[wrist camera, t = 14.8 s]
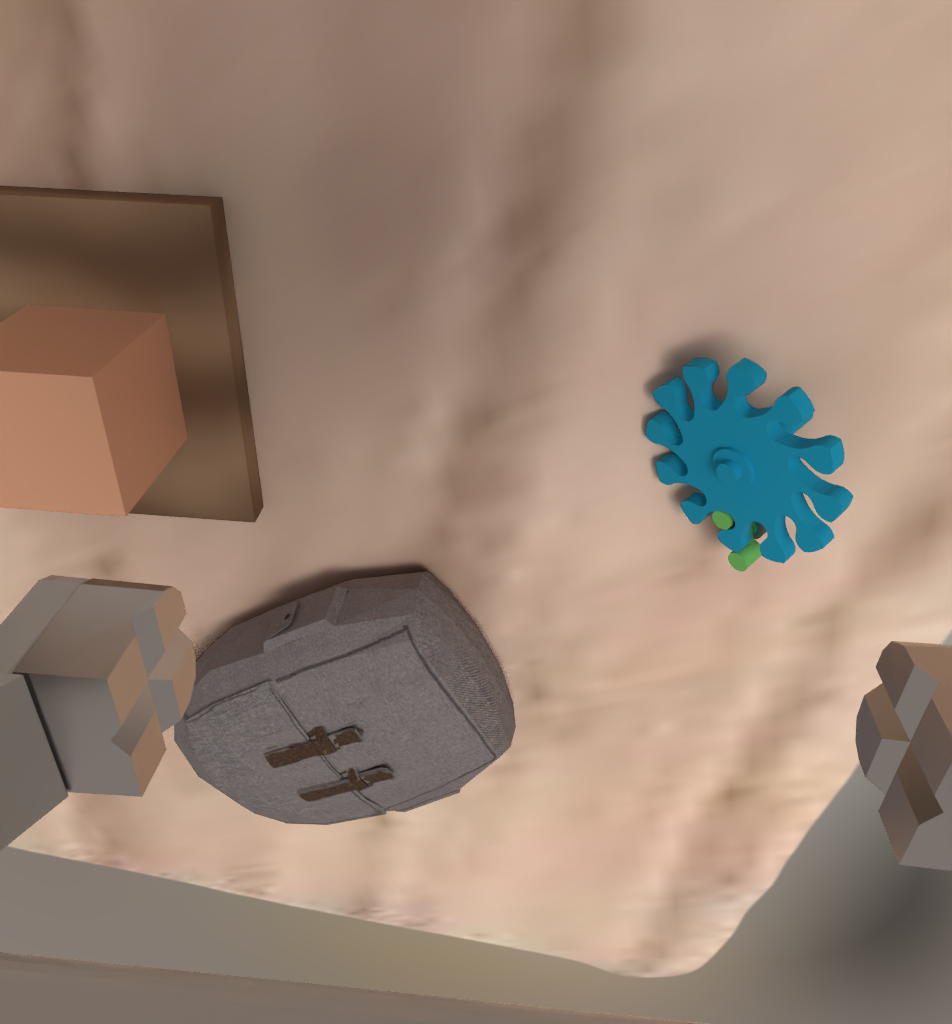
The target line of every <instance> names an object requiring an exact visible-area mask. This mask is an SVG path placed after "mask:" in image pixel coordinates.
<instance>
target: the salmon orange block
mask: <svg viewBox="0 0 952 1024" xmlns="http://www.w3.org/2000/svg"><path fill="white" fill-rule="evenodd" d="M187 439H188V437H187V432H186V426H185V421H184V415H183V410H182V404H181V399H180V393H179V388H178V382H177V377H176V371H175V366H174V360H173V355H172V349H171V344H170V338H169V333H168V327H167V322H166V316H165V313H149V312H133V311H117V310H100V309H84V308H68V307H52V306H35V305H27V306H26V307H24V308H22V309H21V310H19V311H18V312H16V313H15V314H13V315H11V316H10V317H8V318H7V319H5V320H4V321H2V322H0V507H4V508H17V509H31V510H44V511H58V512H71V513H84V514H98V515H111V516H124V517H126V516H127V515H128V513H129V512H130V511H131V510H132V508H133V507H134V506H135V505H136V503H137V502H138V501H139V499H140V498H141V497H142V496H143V494H144V493H145V492H146V491H147V489H148V488H149V487H150V486H151V484H152V483H153V482H154V480H155V479H156V478H157V477H158V475H159V474H160V473H161V472H162V470H163V469H164V468H165V467H166V465H167V464H168V463H169V462H170V460H171V459H172V458H173V456H174V455H175V454H176V453H177V451H178V450H179V449H180V448H181V446H182V445H183V444H184V443H185V441H186V440H187Z"/></svg>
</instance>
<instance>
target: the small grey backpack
mask: <svg viewBox="0 0 952 1024" xmlns="http://www.w3.org/2000/svg"><path fill="white" fill-rule="evenodd" d="M515 727H516V726H515V716H514V707H513V701H512V698H511V695H510V692H509V689H508V686H507V683H506V680H505V677H504V674H503V672H502V670H501V668H500V666H499V664H498V662H497V660H496V658H495V656H494V654H493V652H492V651H491V649H490V647H489V646H488V644H487V642H486V640H485V639H484V637H483V635H482V634H481V632H480V630H479V629H478V627H477V625H476V623H475V622H474V621H473V620H472V618H471V617H470V616H469V614H468V613H467V612H466V611H465V609H464V608H463V607H462V606H461V604H460V603H459V602H458V600H457V599H456V598H455V597H454V595H453V594H452V593H451V592H450V590H449V589H448V588H447V587H445V586H444V585H443V584H442V583H441V582H440V581H439V580H437V579H436V578H435V577H434V576H433V575H432V574H431V573H429V572H428V571H424V572H415V573H406V574H397V575H388V576H379V577H369V578H360V579H351V580H348V581H345V582H342V583H340V584H337V585H334V586H331V587H329V588H326V589H323V590H321V591H318V592H315V593H312V594H310V595H307V596H304V597H302V598H299V599H296V600H293V601H291V602H288V603H286V604H283V605H281V606H279V607H277V608H274V609H272V610H270V611H268V612H265V613H263V614H261V615H258V616H256V617H254V618H252V619H249V620H247V621H245V622H242V623H240V624H238V625H236V626H233V627H231V628H230V629H229V630H228V631H227V632H225V633H224V634H223V635H222V636H221V637H220V638H219V639H218V640H216V641H215V642H214V643H213V644H212V645H211V646H210V647H209V648H207V649H206V650H205V651H204V653H203V654H202V655H201V656H200V657H199V658H198V659H197V660H196V678H195V682H194V686H193V691H192V695H191V700H190V702H189V704H188V706H187V709H186V711H185V713H184V715H183V717H182V719H181V720H180V721H179V722H177V723H176V724H174V741H175V742H176V744H177V745H178V747H179V748H180V750H181V751H182V753H183V754H184V756H185V757H186V759H187V760H188V762H189V763H190V765H191V766H192V768H193V769H194V771H195V772H196V774H197V775H198V776H199V777H200V778H202V779H203V780H205V781H206V782H208V783H209V784H210V785H212V786H213V787H215V788H216V789H218V790H219V791H221V792H222V793H224V794H225V795H227V796H228V797H230V798H231V799H233V800H234V801H236V802H237V803H239V804H240V805H242V806H243V807H245V808H247V809H248V810H250V811H252V812H253V813H255V814H258V815H262V816H265V817H268V818H271V819H275V820H278V821H281V822H284V823H291V824H320V825H329V824H334V823H340V822H345V821H351V820H356V819H362V818H367V817H373V816H378V815H384V814H386V811H395V810H396V811H400V812H406V811H409V810H412V809H415V808H417V807H420V806H423V805H426V804H429V803H431V802H434V801H437V800H440V799H443V798H445V797H448V796H451V795H454V794H457V793H459V792H460V788H461V787H463V786H464V785H465V784H466V783H468V782H469V781H470V780H471V779H473V778H474V777H475V776H476V775H478V774H479V773H480V772H482V771H483V770H484V769H485V768H487V767H488V766H489V765H490V764H492V763H493V762H494V761H495V760H497V759H498V758H499V757H500V756H501V755H502V754H503V753H504V752H505V751H506V750H507V749H508V748H510V746H511V742H512V738H513V735H514V731H515Z"/></svg>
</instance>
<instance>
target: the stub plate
mask: <svg viewBox="0 0 952 1024" xmlns="http://www.w3.org/2000/svg"><path fill="white" fill-rule="evenodd" d="M27 305H35V306H52V307H68V308H84V309H100V310H117V311H133V312H149V313H165V316H166V322H167V327H168V333H169V338H170V344H171V349H172V355H173V360H174V366H175V371H176V377H177V382H178V388H179V393H180V399H181V404H182V410H183V415H184V421H185V426H186V432H187V437H188V439H187V440H186V441H185V443H184V444H183V445H182V446H181V448H180V449H179V450H178V451H177V453H176V454H175V455H174V456H173V458H172V459H171V460H170V462H169V463H168V464H167V465H166V467H165V468H164V469H163V470H162V472H161V473H160V474H159V475H158V477H157V478H156V479H155V480H154V482H153V483H152V484H151V486H150V487H149V488H148V489H147V491H146V492H145V493H144V494H143V496H142V497H141V498H140V499H139V501H138V502H137V503H136V505H135V506H134V507H133V508H132V510H131V511H130V512H129V513H134V514H147V515H161V516H175V517H189V518H202V519H216V520H230V521H243V522H255V521H256V519H257V518H258V516H259V514H260V512H261V510H262V508H263V500H262V493H261V485H260V478H259V470H258V463H257V455H256V448H255V440H254V433H253V425H252V418H251V410H250V403H249V395H248V388H247V381H246V373H245V366H244V358H243V351H242V343H241V336H240V328H239V321H238V313H237V306H236V298H235V291H234V283H233V276H232V268H231V261H230V253H229V246H228V238H227V231H226V223H225V216H224V208H223V201H222V197H204V196H185V195H166V194H146V193H127V192H108V191H89V190H69V189H50V188H31V187H11V186H0V322H2V321H4V320H5V319H7V318H8V317H10V316H11V315H13V314H15V313H16V312H18V311H19V310H21V309H22V308H24V307H26V306H27Z"/></svg>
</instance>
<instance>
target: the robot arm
mask: <svg viewBox="0 0 952 1024" xmlns="http://www.w3.org/2000/svg"><path fill="white" fill-rule="evenodd" d="M185 615H186V610H185V606H184V603H183V599H182V595H181V592H180V591H179V590H177V589H176V588H174V587H172V586H163V585H153V584H143V583H132V582H122V581H112V580H102V579H85V578H75V577H64V576H54V575H51V576H48V577H46V578H43V579H41V580H39V581H38V582H37V583H36V584H35V585H34V586H33V588H32V589H31V590H30V591H29V592H28V593H27V595H26V596H25V597H24V598H23V599H22V600H21V602H20V603H19V604H18V605H17V606H16V607H15V608H14V610H13V611H12V612H11V613H10V614H9V615H8V617H7V618H6V619H5V620H4V621H3V622H2V624H1V625H0V851H1V850H2V849H3V848H5V847H6V846H7V845H8V844H10V843H11V842H12V841H13V840H15V839H16V838H17V837H18V836H19V835H21V834H22V833H23V832H24V831H26V830H27V829H28V828H29V827H31V826H32V825H33V824H34V823H36V822H37V821H38V820H39V819H41V818H42V817H43V816H44V815H46V814H47V813H48V812H49V811H51V810H52V809H53V808H54V807H55V806H57V805H58V804H59V803H60V802H62V801H63V800H64V799H65V798H67V797H68V793H67V792H75V793H92V794H108V795H124V796H141V797H142V796H143V794H144V792H145V790H146V788H147V786H148V784H149V782H150V780H151V778H152V776H153V774H154V773H155V771H156V769H157V767H158V765H159V763H160V761H161V759H162V757H163V755H164V753H165V751H166V747H165V743H164V739H163V735H162V732H164V731H165V730H167V729H168V728H170V727H171V726H173V725H174V724H176V723H177V722H179V721H180V720H181V719H182V717H183V715H184V713H185V711H186V709H187V706H188V704H189V702H190V700H191V695H192V691H193V686H194V682H195V678H196V657H195V652H194V647H193V642H192V641H191V640H190V639H189V638H188V637H187V636H186V635H185V634H184V633H183V632H182V631H180V630H179V629H178V628H179V626H180V624H181V622H182V621H183V619H184V617H185ZM876 669H877V671H878V673H879V675H880V678H881V680H882V682H883V683H882V684H881V685H879V686H878V687H876V688H875V689H873V690H872V691H870V692H869V693H867V694H866V695H864V698H863V701H862V703H861V706H860V709H859V712H858V715H857V722H856V746H857V751H858V757H859V761H860V764H861V766H862V769H863V772H864V775H865V777H866V778H867V779H868V780H869V781H870V782H871V783H872V784H874V785H875V786H876V787H877V788H878V789H880V790H881V791H882V792H883V793H884V794H885V795H886V796H885V798H884V800H883V803H882V804H881V807H880V809H879V811H878V812H879V814H880V817H881V819H882V822H883V824H884V827H885V829H886V832H887V835H888V837H889V840H890V842H891V845H892V847H893V850H894V852H895V855H896V858H897V860H898V863H899V865H907V866H916V867H924V868H933V869H942V870H950V871H952V645H941V644H926V643H912V642H897V641H891V642H890V643H889V644H888V646H887V647H886V648H885V649H884V650H883V651H882V653H881V656H880V658H879V661H878V663H877V665H876ZM0 1024H708V1023H697V1022H687V1021H678V1020H667V1019H658V1018H648V1017H637V1016H628V1015H618V1014H608V1013H598V1012H587V1011H578V1010H568V1009H558V1008H548V1007H538V1006H528V1005H518V1004H508V1003H498V1002H489V1001H479V1000H469V999H458V998H449V997H439V996H429V995H418V994H409V993H399V992H389V991H379V990H369V989H359V988H350V987H340V986H329V985H320V984H309V983H299V982H290V981H279V980H270V979H260V978H250V977H241V976H231V975H220V974H210V973H200V972H190V971H181V970H171V969H162V968H161V969H160V968H151V967H141V966H131V965H121V964H112V963H102V962H92V961H82V960H73V959H63V958H53V957H43V956H33V955H23V954H12V953H2V952H0Z"/></svg>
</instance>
